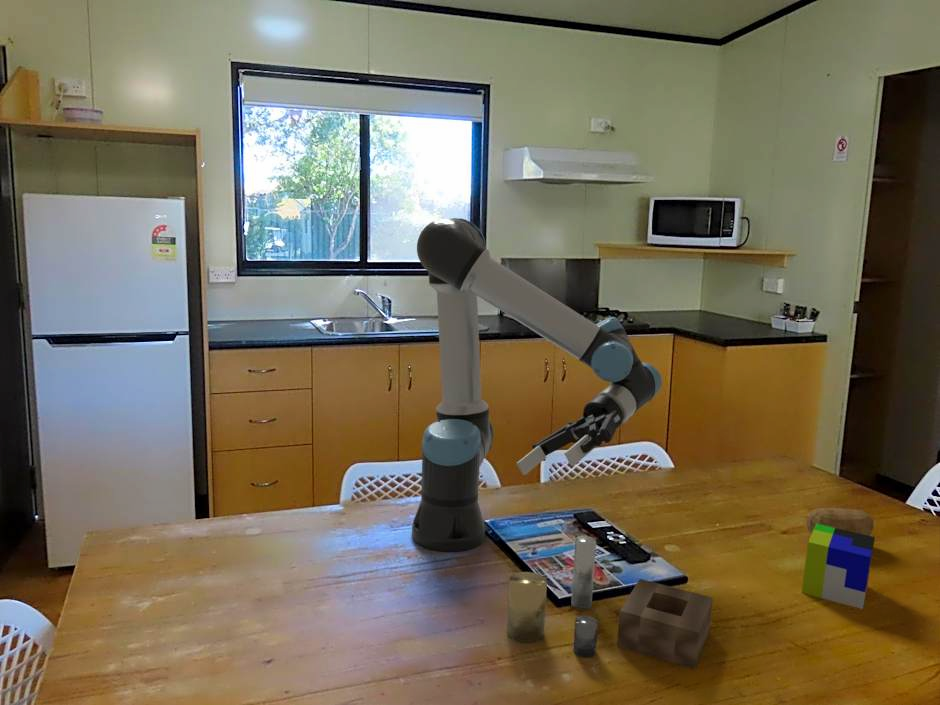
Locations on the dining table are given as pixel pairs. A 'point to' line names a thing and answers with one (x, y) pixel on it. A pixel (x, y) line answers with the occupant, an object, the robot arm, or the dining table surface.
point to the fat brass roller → (526, 607)
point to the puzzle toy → (838, 565)
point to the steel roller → (583, 572)
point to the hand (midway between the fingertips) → (543, 464)
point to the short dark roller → (585, 636)
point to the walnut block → (665, 623)
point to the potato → (841, 520)
